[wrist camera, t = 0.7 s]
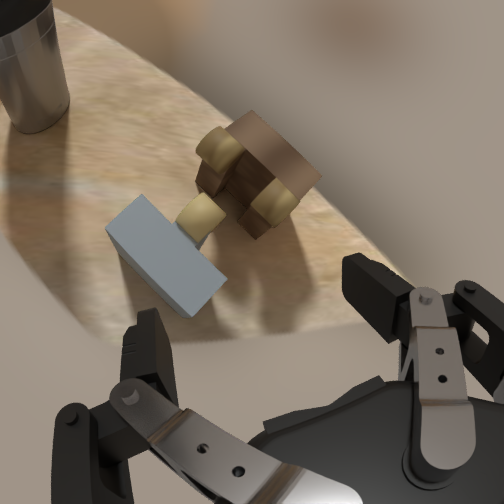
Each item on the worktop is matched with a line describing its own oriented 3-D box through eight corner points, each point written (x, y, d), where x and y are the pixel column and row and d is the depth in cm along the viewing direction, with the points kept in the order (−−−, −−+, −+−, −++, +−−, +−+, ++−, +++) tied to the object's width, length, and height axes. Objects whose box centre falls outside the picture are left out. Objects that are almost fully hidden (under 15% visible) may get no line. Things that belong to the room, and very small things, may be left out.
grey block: (117, 252, 30) (101, 221, 20) (168, 203, 33) (176, 156, 23) (182, 317, 31) (195, 317, 21) (231, 265, 34) (264, 241, 24)
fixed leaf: (184, 189, 34) (198, 139, 24) (230, 152, 37) (257, 99, 27) (246, 249, 35) (283, 220, 25) (286, 206, 38) (330, 168, 28)
